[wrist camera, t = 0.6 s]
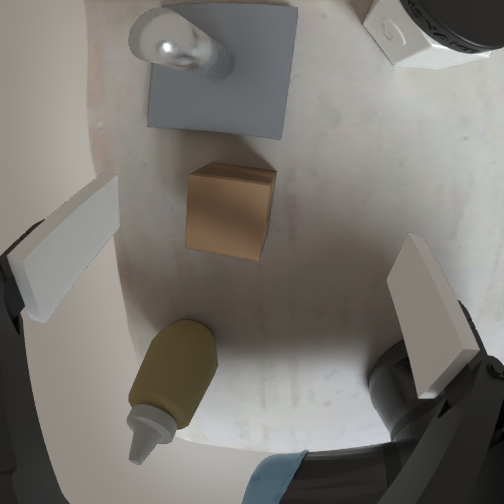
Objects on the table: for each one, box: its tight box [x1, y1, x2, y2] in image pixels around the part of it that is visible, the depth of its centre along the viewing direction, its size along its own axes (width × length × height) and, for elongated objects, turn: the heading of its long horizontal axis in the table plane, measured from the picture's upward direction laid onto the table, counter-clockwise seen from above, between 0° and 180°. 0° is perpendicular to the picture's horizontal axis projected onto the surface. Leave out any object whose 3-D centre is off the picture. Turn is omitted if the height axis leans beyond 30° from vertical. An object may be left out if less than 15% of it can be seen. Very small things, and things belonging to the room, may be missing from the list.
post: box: [129, 8, 235, 81], centre depth 18 cm, size 3×3×12 cm
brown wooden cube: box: [185, 162, 277, 261], centre depth 26 cm, size 6×6×6 cm
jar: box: [363, 0, 504, 69], centre depth 14 cm, size 9×8×12 cm
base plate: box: [147, 3, 298, 140], centre depth 24 cm, size 12×12×2 cm
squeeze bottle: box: [127, 320, 218, 465], centre depth 29 cm, size 8×8×18 cm
